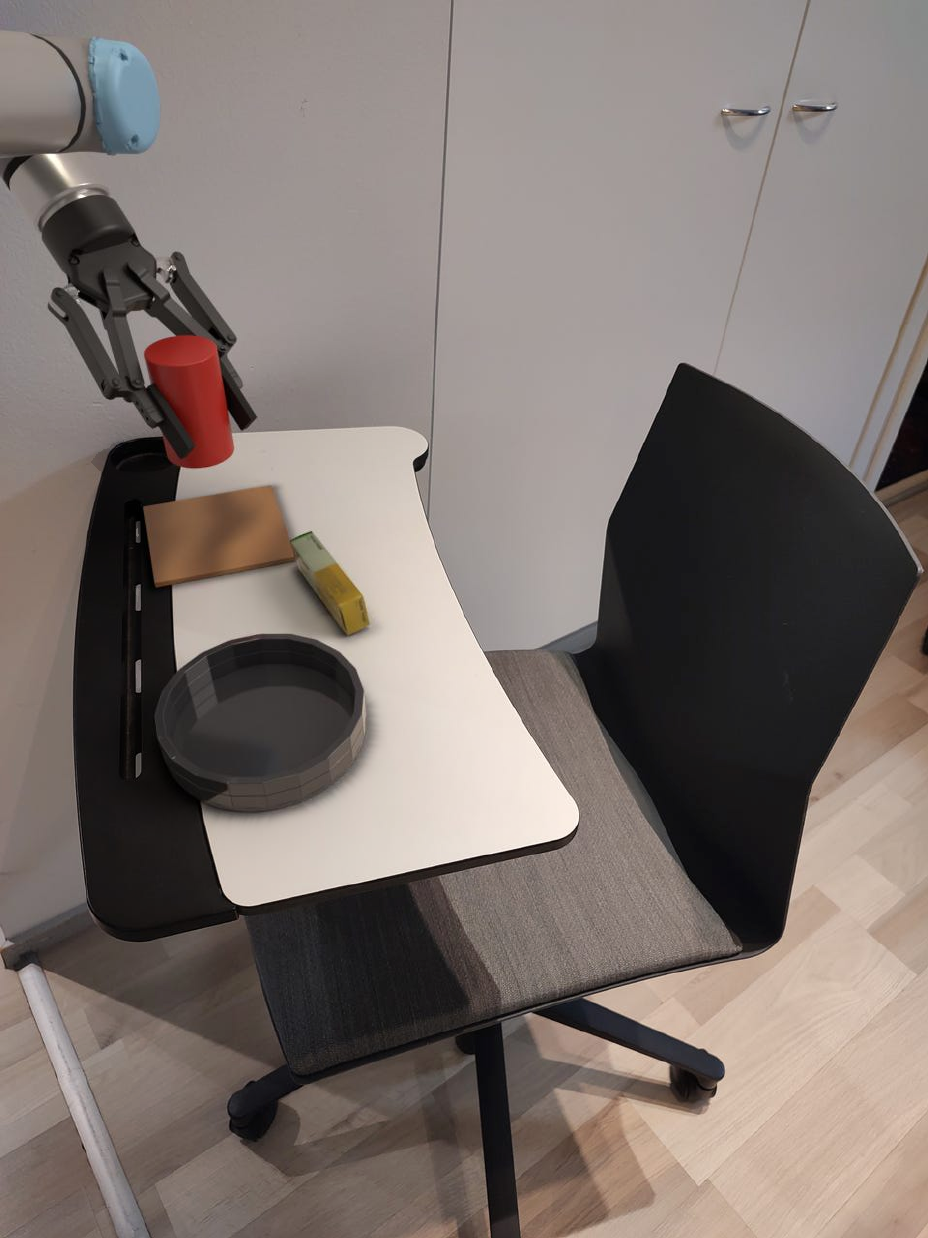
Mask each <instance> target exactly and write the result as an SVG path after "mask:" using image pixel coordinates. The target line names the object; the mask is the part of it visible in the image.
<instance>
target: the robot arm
mask: <svg viewBox="0 0 928 1238" xmlns="http://www.w3.org/2000/svg"><path fill="white" fill-rule="evenodd" d="M159 91H160V90H159V86H158V82H157V79H156V75H155V72H154V71H153V69H152V67H151V64H150V62H149V61H148V59H147V58H146V56H145V55H144V53H142V52H141V50H140V49H139V48H137V47H136V46H135V45H134V44H131V43H129V42H128V41H127V42H126V41H123V40H113V39H107V38H106V39H105V38H102V37H101V36H91V37H82V36H81V37H79V36H67V35H56V34H45V33H33V32H32V33H31V32H30V33H27V32H25V31H15V30H2V29H0V178H1V179H2V181H3V183H4V184H5V186H6V188H7V189H8V190H9V192H10V194H11V195H12V196H13V198H14V200H15V201H16V202H17V204H18V206H19V207H20V209H21V210H22V212H23V213H24V215H25V216H26V218H27V219H28V221H29V222H30V224H31V225H32V227H33V228H34V230H35V231H36V232H37V233H38V234H40V235H41V241H42V243H43V245H44V246H45V248H46V249H47V250H48V252H49V253H50V255H51V257H52V258H53V260H54V261H55V263H56V265H57V266H58V267H59V268H60V270H61V271H62V272H63V273H64V274H65V276H66V279H67V285H65V286H63V287H59V286H57V287H54V288H53V289H52V291H51V294H50V297H49V300H48V302H47V309H48V311H49V312H50V313H51V314H52V315H53V316H54V317H55V318H56V319H57V320H58V321H59V322H61V324H62V325H63V326H64V327H65V328H66V331H67V332H68V334H69V336H70V338H71V339H72V341H73V344H74V345H75V348H76V349H77V351H78V352H79V354H80V356H81V358H82V359H83V361H84V363H85V365H86V367H87V369H88V370H89V372H90V374H91V376H92V378H93V379H94V381H95V383H96V385H97V387H98V389H99V390H100V392H101V394H102V396H103V397H104V399H106V400H109V401H113V400H115V399H116V398H117V399H118V398H122V400H123V401H125V402H126V403H129V404H133V405H134V407H135V409H136V410H137V411H138V413H139V415H140V416H141V418H142V419H143V420H144V422H145V423H146V425H147V426H148V427H149V428H151V429H152V430H153V429H156V428H159V429H160V431H161V434H162V433H163V434H164V436H165V437H166V439H167V440H168V442H169V443H170V445H171V447H172V448H173V450H174V451H175V453H176V454H177V456H178V457H179V459H180V460H181V459H183V458H185V457H187V456H188V455H189V453H190V452H191V451H192V450H193V448H194V447H195V446H196V445H195V444H194V442H193V441H192V439H191V438H190V436H189V435H188V433H187V431H186V430H185V428H184V427H183V425H182V424H181V422H180V421H179V419H178V418H177V416H176V415H175V413H174V411H173V410H172V408H171V407H170V405H169V404H168V402H167V401H166V399H165V398H164V396H163V394H162V393H161V391H160V390H159V388H158V387H157V385H156V384H155V383H153V384H149V385H147V386H145V384H146V383H145V379H144V375H143V372H142V368H141V365H140V360H139V358H138V357H139V356H138V354H137V349H136V347H135V343H134V339H133V336H132V332H131V329H130V325H129V322H128V318H127V315H128V314H130V313H131V312H141V311H144V312H145V313H146V314H147V315H148V316H149V317H150V318H155V319H157V320H158V321H159V322H160V323H161V324H162V325H163V326H165V327H166V328H167V329H168V330H169V331H170V332H171V333H172V334H173V335H174V336H181V335H192V336H200V337H204V338H207V339H210V340H212V341H213V342H214V343H215V344H216V346H217V351H218V356H219V362H220V368H221V374H222V379H223V385H224V391H225V397H226V402H227V408H228V414H230V416H231V417H232V419H233V421H234V423H236V425H237V427H238V428H239V430H240V432H243V431H245V430H246V429H248V428H249V427H250V426H251V425H252V424H253V423H254V422H255V421H256V419H258V416H257V414H256V413H255V410H254V409H253V408H252V406H251V404H250V403H249V402H248V400H247V398H246V397H245V395H244V394H243V392H242V390H241V389H242V388H243V387H244V383H243V379H242V378H241V377H240V375H239V373H238V372H237V370H236V369H235V367H234V366H233V364H232V362H231V361H230V359H229V357H228V354H229V353H230V351H231V349H232V348H233V347H234V346H235V344H236V343H237V340H238V338H237V336H236V334H235V332H234V331H233V330H232V328H231V327H230V326H229V325H228V323H227V322H226V321H225V319H224V318H223V317H222V315H221V313H220V312H219V311H218V310H217V308H216V307H215V305H214V304H213V303H212V301H211V300H210V299H209V297H208V295H207V294H206V293H205V292H204V291H203V289H202V288H201V286H200V285H199V283H198V282H197V281H196V280H195V278H194V276H193V275H192V274H191V271H190V269H189V267H188V264H187V261H186V259H185V258H186V257H185V255H184V254H183V253H181V252H180V251H173V252H172V253H171V255H170V256H169V257H168V256H167V257H163V256H162V257H156V256H154V255H153V253H151V252H150V251H149V250H148V249H146V248H145V247H143V245H142V244H141V242H140V239H139V238H138V235H137V233H136V230H135V229H134V227H133V226H132V224H131V222H130V221H129V219H128V217H127V216H126V215H125V213H124V211H123V210H122V208H121V207H120V205H119V204H118V202H117V201H116V199H114V198H113V197H111V192H110V189H109V187H108V186H107V184H106V182H105V181H104V180H103V178H102V176H101V175H100V174H99V172H98V170H97V169H96V167H95V166H94V165H93V163H92V161H91V159H90V158H89V157H88V156H87V154H86V153H99V154H106V155H107V156H111V157H113V156H114V157H115V156H116V155H141V154H144V153H145V152H147V151H148V150H149V149H150V148H151V147H152V146H153V144H154V143H155V141H156V139H157V136H158V133H159V130H160V125H161V124H160V123H161V106H160V105H161V104H160V92H159ZM157 274H158V275H160V276H161V278H162V279H163V282H164V283H165V284H169V286H170V289H171V290H172V292H173V293H174V295H175V296H176V298H177V299H178V300H179V302H180V303H181V304H182V305H183V307H184V308H185V309H184V308H183V307H182V306H181V305H180V304H179V303H178V302H176V300H174V299H173V298H172V296H171V293H170V291H169V290H168V289H167V288H166V287H165V286H164V285H163V284H162V283H161V282H159V280H157ZM81 300H82V301H83V302H85V303H87V304H89V305H90V306H92V307H94V308H95V309H98V312H99V315H100V319H101V322H102V327H103V329H104V330H106V333H107V337H108V340H109V343H110V344H109V345H110V348H111V351H112V354H113V358H114V362H115V365H114V363H113V361H112V359H111V357H110V355H109V354H108V352H107V350H106V348H105V346H104V344H103V343H102V341H101V339H100V338H99V335H98V334H97V332H96V330H95V329H94V326H93V325H92V323H91V321H90V318H89V317H88V315H87V314H86V312H85V310H84V309H83V307H82V301H81Z"/></svg>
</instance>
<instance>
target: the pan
mask: <svg viewBox="0 0 928 1238" xmlns="http://www.w3.org/2000/svg"><path fill="white" fill-rule="evenodd" d="M366 710H367V709H366V699H365V689H364V687H363V683H362V681H361V678H360V676H359V673H358V671H357V668H356V667H355V666H354V665H353V664H352V663H351V662H350V660H349V659H348V658H347V657H345V655H344V654H343V653H342V652H341V651H339V650H337V649H336V648H333V647H332V646H330V645H328V644H326V643H324V642H322V641H320V640H319V639H315V638H312V637H306V636H302V635H297V634H294V633H257V634H252V635H251V634H250V635H246V636H243V637H238V638H234V639H230V640H226V641H223V642H222V643H220V644H217V645H216V646H213V647H211V648H208V649H205V650H204V651H202V652H200V653H199V654H197V655H196V656H195V657H194V658H192V659H191V660H189V661H188V662H187V663H185V664H184V665H183V666H181V667H180V668H179V669H178V670H177V671H176V672H175V674H174V675H173V676H172V678H171V679H170V680H169V681H168V683H167V684H166V686H165V687H164V688H163V689H162V691H161V694H160V697H159V700H158V703H157V706H156V709H155V713H154V722H155V723H154V724H155V730H156V731H155V732H156V738H157V742H158V744H159V747H160V751H161V755H162V757H163V761H164V764H165V765H166V766H167V769H168V770H169V772H170V774H171V776H172V777H173V779H174V781H175V782H176V783H177V784H178V785H179V786H180V787H181V788H182V789H183V790H184V791H185V792H186V793H188V794H189V795H190V796H191V797H193V798H194V799H196V800H198V801H200V802H202V803H203V804H207V805H209V806H212V807H215V808H219V809H223V810H227V811H234V812H242V813H257V812H268V811H274V810H275V811H276V810H279V809H284V808H288V807H291V806H294V805H296V804H300V803H302V802H304V801H305V802H306V801H307V800H309V799H312V798H314V797H315V796H317V795H319V794H321V793H322V792H323V791H325V790H327V789H329V787H331V786H332V785H334V784H335V783H337V781H338V780H339V779H341V778H342V776H343V775H344V774H345V773H346V772H347V771H348V770H349V769H350V767H352V765H353V763H354V762H355V760H356V759H357V757H358V756H359V753H360V751H361V748H362V746H363V744H364V739H365V736H366V718H367V711H366Z"/></svg>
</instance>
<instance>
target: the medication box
mask: <svg viewBox="0 0 928 1238" xmlns="http://www.w3.org/2000/svg"><path fill="white" fill-rule="evenodd" d="M290 544H291V547H292V550H293V553H294V557H295V560H296V561H295V563H296V566H297V569H298V570H299V572H300V573H301V574H302V576H303V577H304V578H305V580H306V581H307V582H308V584H309V585H310V587H311V588H312V589H313V591H314V592H315V594H316V595H317V596H318V598H319V599H320V600H321V602H322V603H323V605H324V606H325V608H326V609H327V610H328V611H329V613H330V615H332V617H333V618H334V620H335V622H336V623H337V624H338V625H339V627H340V628H341V629H342V631H343V632H344V633H345V635H346V636H349V635H351V634H354V633H357V632H359V631H360V630H363V629H364V628H366V627H368V626H370V625H371V623H370V619H369V614H368V610H367V605H366V601H365V597H364V595H363V593H362V592H361V591H360V589H359V588H358V587H357V585H356V584H355V583H354V582H353V581H352V580H351V578H350V577H349V576H348V575H347V573H346V572H345V570H344V569H343V568H342V567H341V565H340V564H339V563H338V562H337V560H336V559H335V558H334V556H333V555H332V554H331V553H330V552H329V550H328V549H327V547H326V546H324V544H323V543H322V541H321V540H320V539H319V538H318V536H317V535H316V534H315V533H314V532H313V530H309V531H307V532H304V533H302V534H300V535H297V536H295V537H294V538H291V539H290Z"/></svg>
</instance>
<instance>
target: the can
mask: <svg viewBox="0 0 928 1238" xmlns="http://www.w3.org/2000/svg"><path fill="white" fill-rule="evenodd" d="M143 358H144V362H145V367H146V371H147V375H148V379H149V385H151V384H153V383H155V384H156V385H157V387H158V388H159V390H160V391H161V393H162V394H163V396H164V398H165V399H166V401H167V402H168V404H169V405H170V407H171V408H172V410H173V411H174V413H175V415H176V416H177V418H178V419H179V421H180V422H181V424H182V425H183V427H184V428H185V430H186V431H187V433H188V435H189V436H190V438H191V439H192V441H193V442H194V444H195V445H196V446H195V447H194V448H193V450H192V451H191V452H190V453H189V455H188V456H187V457H185V458H183V459H181V460H180V459H179V457H178V456H177V454H176V453H175V451H174V450H173V448H172V447H171V445H170V443H169V442H168V440H167V439H166V437H165V436H164V434H163V433H162V432H161V435H162V439H163V443H164V448H165V453H166V456H167V459H168V461H169V462H171V463H172V464H173V465H175V466H177V467H179V468H184V469H191V470H193V469H194V470H196V469H197V470H198V469H207V468H211V467H216V466H217V465H220V464H222V463H224V462H226V461H227V460H229V459H230V458H231V457H232V455H233V454H234V452H235V444H234V443H235V442H234V438H233V432H232V427H231V421H230V415H229V414H230V413H229V411H228V408H227V402H226V397H225V391H224V385H223V379H222V374H221V368H220V362H219V356H218V351H217V346H216V344H215V343H214V342H213V341H212V340H210V339H207V338H204V337H200V336H192V335H181V336H176V335H174V336H168V337H165V338H161V339H158V340H155V341H153V342H152V343H150V344H149V345H148V346H146V348H145V349H144V352H143Z"/></svg>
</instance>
